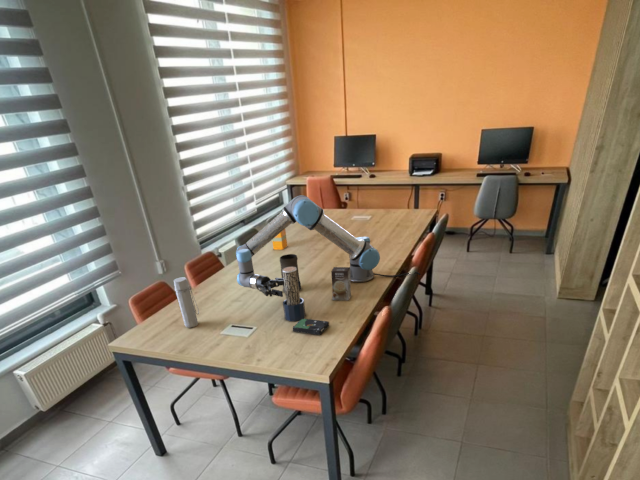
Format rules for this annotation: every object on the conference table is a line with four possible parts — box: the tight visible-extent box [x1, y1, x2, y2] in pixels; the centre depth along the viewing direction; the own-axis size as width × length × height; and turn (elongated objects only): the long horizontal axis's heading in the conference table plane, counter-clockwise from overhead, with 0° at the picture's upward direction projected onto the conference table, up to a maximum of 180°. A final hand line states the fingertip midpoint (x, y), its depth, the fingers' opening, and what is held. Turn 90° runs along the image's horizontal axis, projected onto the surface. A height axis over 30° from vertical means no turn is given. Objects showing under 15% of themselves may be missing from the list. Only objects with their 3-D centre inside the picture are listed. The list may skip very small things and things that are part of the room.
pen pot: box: [282, 297, 306, 322], centre depth 229 cm, size 10×10×8 cm
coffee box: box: [330, 266, 352, 301], centre depth 239 cm, size 9×6×16 cm
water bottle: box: [173, 276, 200, 329], centre depth 232 cm, size 9×8×25 cm
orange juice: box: [271, 228, 288, 251], centre depth 328 cm, size 8×9×20 cm
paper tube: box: [283, 267, 301, 305], centre depth 224 cm, size 7×7×25 cm
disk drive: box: [292, 318, 330, 336], centre depth 217 cm, size 10×3×15 cm
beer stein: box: [279, 253, 302, 293], centre depth 258 cm, size 15×11×20 cm
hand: (291, 289), depth 223 cm, fingers open, 13 cm apart
